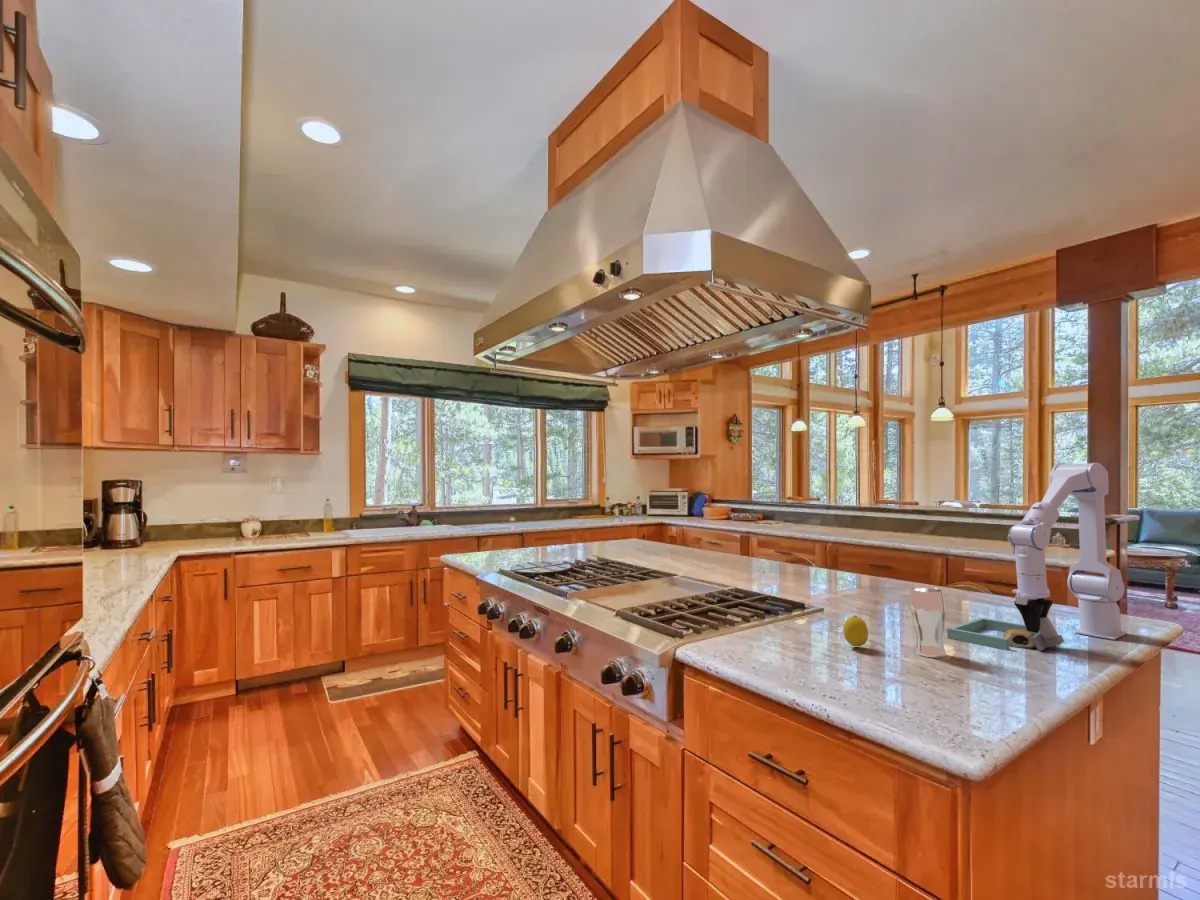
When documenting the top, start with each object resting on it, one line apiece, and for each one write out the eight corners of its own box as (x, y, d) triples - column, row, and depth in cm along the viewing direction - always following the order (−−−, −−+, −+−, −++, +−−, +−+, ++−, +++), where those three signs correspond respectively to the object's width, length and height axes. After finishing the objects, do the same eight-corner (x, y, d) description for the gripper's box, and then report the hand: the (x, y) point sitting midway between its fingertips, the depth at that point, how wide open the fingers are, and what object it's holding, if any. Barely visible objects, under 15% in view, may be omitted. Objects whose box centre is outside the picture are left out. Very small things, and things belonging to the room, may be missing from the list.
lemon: (871, 652, 131) (869, 618, 132) (847, 651, 132) (845, 617, 133) (865, 645, 137) (863, 612, 137) (841, 644, 138) (840, 612, 138)
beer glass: (945, 651, 130) (941, 587, 131) (950, 660, 124) (945, 593, 125) (912, 648, 133) (908, 586, 134) (915, 657, 127) (910, 591, 128)
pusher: (1048, 642, 135) (1034, 618, 137) (1067, 638, 132) (1052, 614, 134) (1038, 650, 128) (1023, 625, 130) (1057, 646, 125) (1042, 620, 128)
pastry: (1003, 637, 141) (1002, 622, 141) (1036, 641, 137) (1035, 625, 137) (1004, 646, 133) (1003, 630, 133) (1039, 651, 129) (1038, 634, 130)
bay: (981, 626, 151) (980, 617, 151) (1039, 636, 140) (1038, 627, 140) (947, 637, 141) (947, 628, 141) (1007, 650, 130) (1006, 639, 130)
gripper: (1024, 568, 141) (1028, 622, 140) (999, 575, 133) (1003, 632, 132) (1058, 572, 135) (1062, 628, 134) (1033, 578, 127) (1038, 638, 126)
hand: (1035, 630), depth 133 cm, fingers closed on pusher, 3 cm apart
